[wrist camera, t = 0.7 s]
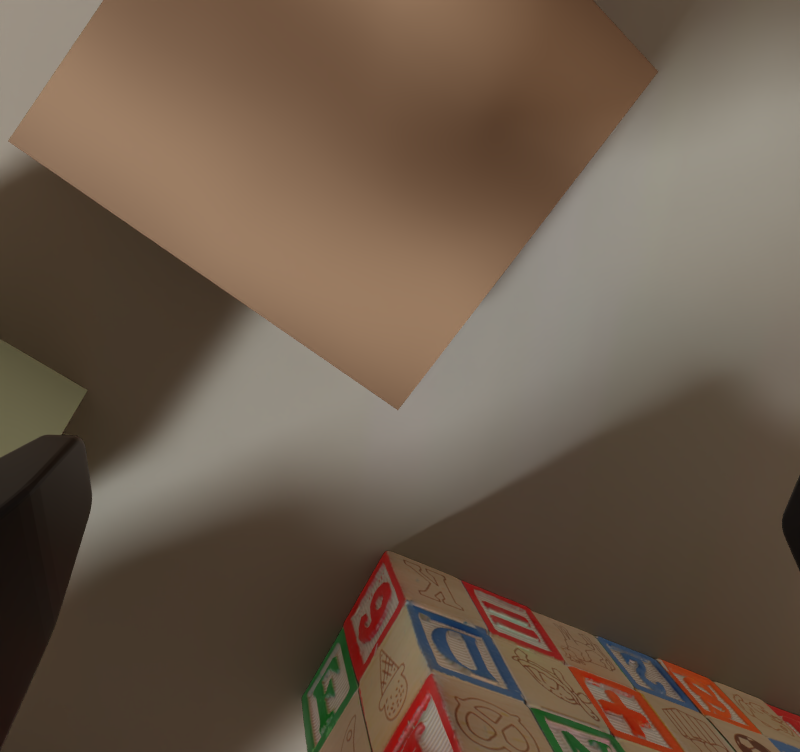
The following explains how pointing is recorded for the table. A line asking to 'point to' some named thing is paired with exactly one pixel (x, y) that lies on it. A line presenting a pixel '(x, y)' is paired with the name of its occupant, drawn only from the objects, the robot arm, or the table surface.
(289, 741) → the table surface
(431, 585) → the stack of blocks
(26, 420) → the green cube
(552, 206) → the walnut base
